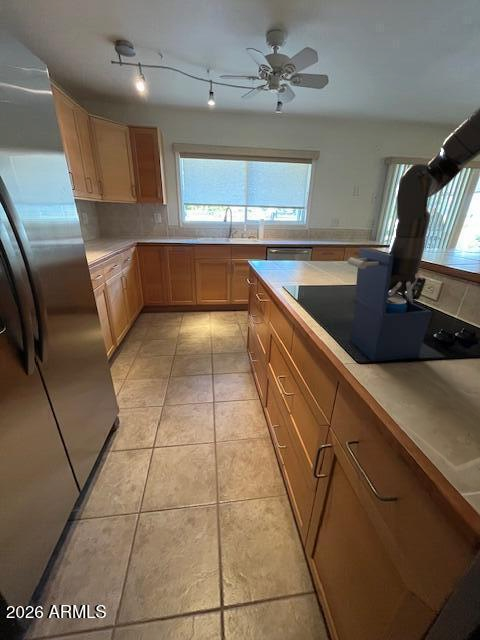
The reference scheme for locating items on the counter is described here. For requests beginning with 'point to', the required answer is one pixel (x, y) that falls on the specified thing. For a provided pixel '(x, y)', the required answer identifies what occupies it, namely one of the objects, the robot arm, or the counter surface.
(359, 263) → the lid
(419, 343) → the box
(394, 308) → the beverage can
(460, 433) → the counter surface
